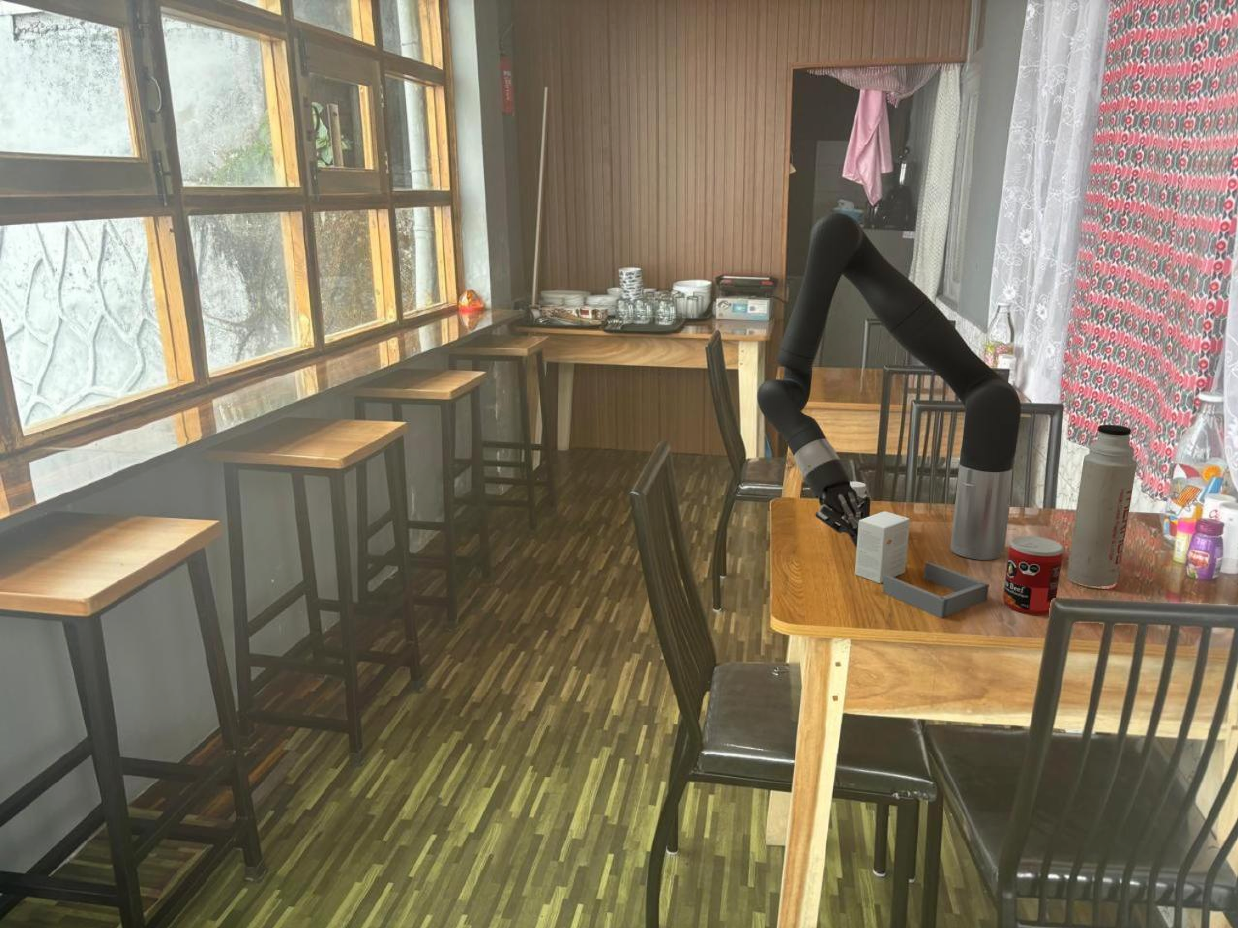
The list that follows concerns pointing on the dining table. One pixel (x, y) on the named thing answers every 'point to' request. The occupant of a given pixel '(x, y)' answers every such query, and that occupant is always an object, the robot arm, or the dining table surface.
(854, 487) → the supplement bottle
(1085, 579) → the thermos bottle
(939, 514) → the dining table surface
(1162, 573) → the dining table surface
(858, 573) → the small box
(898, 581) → the bay
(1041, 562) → the canned food
